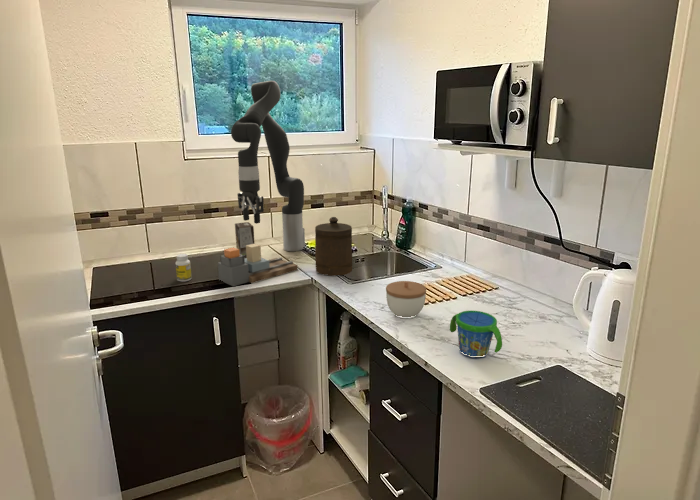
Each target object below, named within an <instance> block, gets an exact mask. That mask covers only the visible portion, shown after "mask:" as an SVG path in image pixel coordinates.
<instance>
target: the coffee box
mask: <svg viewBox="0 0 700 500" xmlns="http://www.w3.org/2000/svg"><path fill="white" fill-rule="evenodd" d="M234 232H235V234H234V235H235V243H236V246H235V248H237V249H239V253H240V254H241V255H243V256H244V259H245V258H247V255H246V245H250V244H256V243H255V228H254V226H253V225H252V223H250V221H248V222H247V221H246V222H238V223H234Z"/></svg>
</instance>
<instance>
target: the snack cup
mask: <svg viewBox="0 0 700 500" xmlns="http://www.w3.org/2000/svg"><path fill="white" fill-rule="evenodd" d="M497 323H498V320H497V318H496V317H495V316H494V315H492V314H490V313H487V312H484V311H482V310H481V311H480V310H464V311H461V312H458V313H456V314H455V315H453V316H452V317H451V319H450V323H449V332H451V333H454V332H456V331H457V338H458V339H457V340H458V348H459V349H460V350H459V349H458V350H459V352H460V351H461V352H463V353H464V354H467V355H470V356H483V355H486V354H487V353H489V350H490V347H491V344H492V341H493V336H494V337H495V341H496V344H495V348H494V353H498V352H500V351H501V349H502V347H503V338H502V337H503V336H502V333H501V331H500V329H499V327H498V326H497ZM487 355H488V354H487ZM487 355H486V356H487Z"/></svg>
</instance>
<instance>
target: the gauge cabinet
mask: <svg viewBox="0 0 700 500" xmlns="http://www.w3.org/2000/svg"><path fill="white" fill-rule="evenodd" d="M219 257H220V258H219V259H220V261H218V262H217V270H218V271H217V273H218V281H220V280H221V282H222V281H223V282H222V283H225V284H227V285H229V286H231V287H235V286H239V285H243V284H246V283H250V282H249V271H248V264H246V263H245V260H244V256H243V255H241V254H240V256H238V257H234V258H227V257H225V254H223V255H220V256H219Z"/></svg>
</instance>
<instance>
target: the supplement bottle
mask: <svg viewBox="0 0 700 500" xmlns="http://www.w3.org/2000/svg"><path fill="white" fill-rule="evenodd" d="M191 265H192V264H191V260H189V257H188V254H187V253H180V254H177V255H176V261H175V271H176V272H175V274H176V280H177V281H178V282H189V281H190V280H191V279H192V267H191Z"/></svg>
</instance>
